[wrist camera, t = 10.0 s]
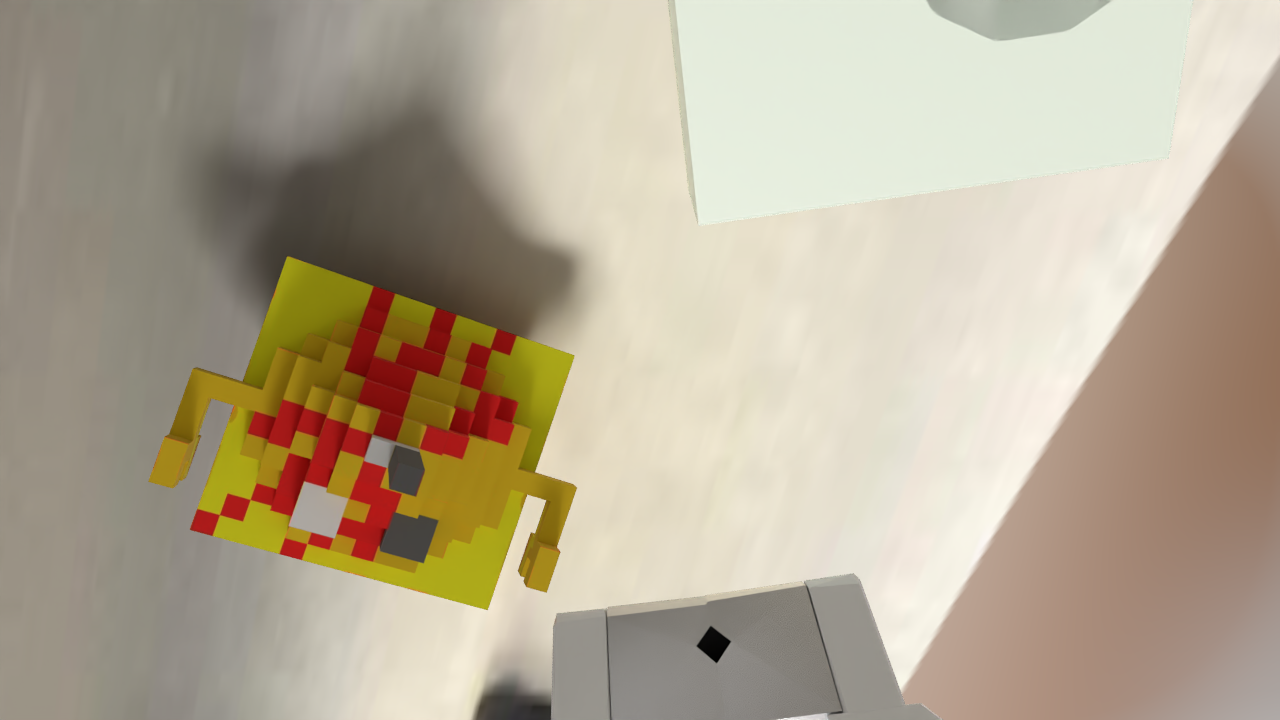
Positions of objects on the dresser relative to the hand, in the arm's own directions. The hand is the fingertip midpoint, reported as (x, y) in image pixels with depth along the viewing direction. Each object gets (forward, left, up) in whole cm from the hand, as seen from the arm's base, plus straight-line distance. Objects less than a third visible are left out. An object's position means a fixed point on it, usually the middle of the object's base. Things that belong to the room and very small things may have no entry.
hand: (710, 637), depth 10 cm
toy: (+12, -10, -27) cm, 32 cm away
